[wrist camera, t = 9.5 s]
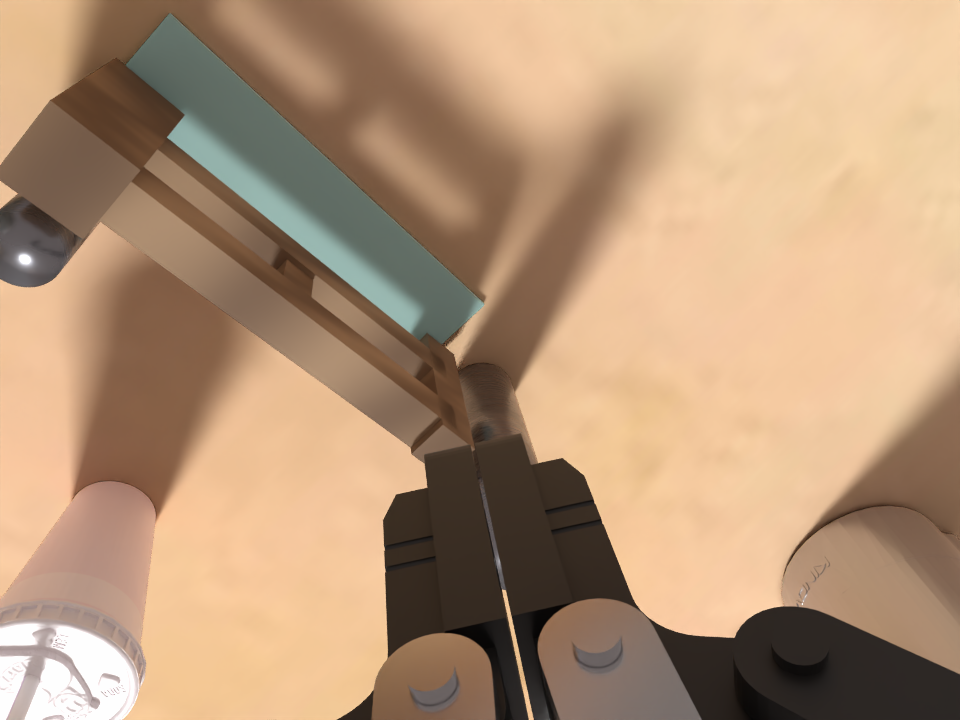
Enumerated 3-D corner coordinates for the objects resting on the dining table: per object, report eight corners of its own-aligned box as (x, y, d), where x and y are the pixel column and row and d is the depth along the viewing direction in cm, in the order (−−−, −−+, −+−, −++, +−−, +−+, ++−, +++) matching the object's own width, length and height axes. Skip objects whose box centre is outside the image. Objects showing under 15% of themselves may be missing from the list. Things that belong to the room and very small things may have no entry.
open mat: (483, 302, 36) (484, 304, 36) (386, 392, 37) (386, 395, 37) (170, 12, 29) (168, 13, 29) (65, 136, 30) (64, 137, 30)
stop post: (120, 156, 31) (63, 218, 25) (119, 218, 32) (64, 292, 26) (50, 145, 30) (-26, 205, 24) (52, 208, 32) (-21, 281, 25)
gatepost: (519, 367, 38) (575, 526, 28) (504, 423, 39) (554, 593, 29) (453, 359, 37) (488, 519, 27) (441, 417, 38) (470, 588, 29)
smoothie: (103, 430, 36) (-24, 696, 24) (216, 514, 39) (154, 789, 27) (7, 514, 38) (-160, 805, 25) (122, 588, 40) (23, 883, 28)
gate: (463, 345, 36) (487, 438, 30) (418, 388, 37) (432, 488, 30) (116, 57, 29) (50, 100, 23) (69, 117, 30) (-8, 175, 23)
